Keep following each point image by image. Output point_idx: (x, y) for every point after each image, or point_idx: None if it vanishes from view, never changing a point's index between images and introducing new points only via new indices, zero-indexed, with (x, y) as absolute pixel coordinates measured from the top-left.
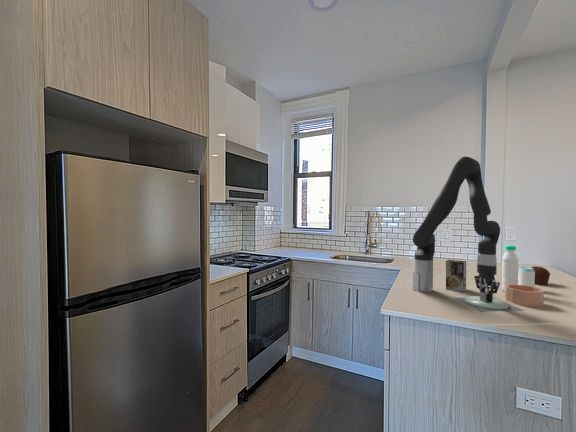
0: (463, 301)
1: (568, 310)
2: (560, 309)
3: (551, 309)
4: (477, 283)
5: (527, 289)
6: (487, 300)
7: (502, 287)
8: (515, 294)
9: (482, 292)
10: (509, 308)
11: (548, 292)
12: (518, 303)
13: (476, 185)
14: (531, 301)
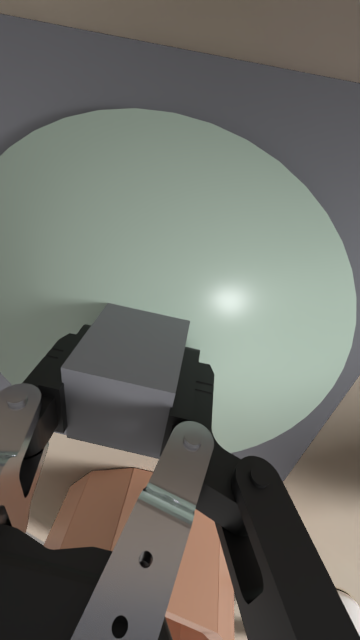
0: (294, 136)
1: (37, 533)
2: (47, 528)
3: (46, 511)
4: (270, 564)
5: (168, 625)
6: (82, 327)
7: (350, 617)
8: (97, 545)
9: (144, 398)
10: None
11: (239, 630)
12: (102, 481)
13: None
14: (56, 521)
